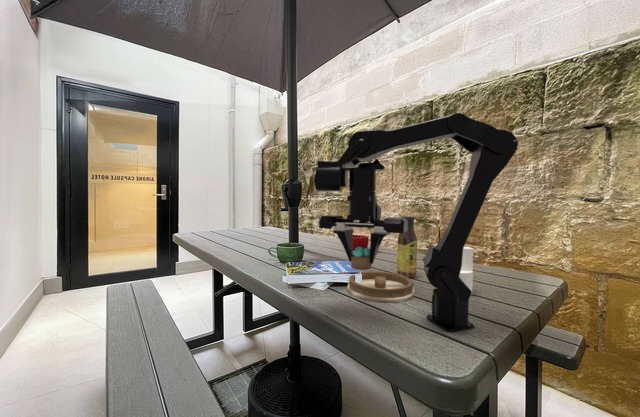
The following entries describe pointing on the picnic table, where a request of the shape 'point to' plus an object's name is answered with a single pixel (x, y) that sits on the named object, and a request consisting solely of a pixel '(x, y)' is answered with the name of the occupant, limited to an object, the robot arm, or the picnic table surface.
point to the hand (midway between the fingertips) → (361, 262)
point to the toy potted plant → (361, 259)
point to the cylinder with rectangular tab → (467, 267)
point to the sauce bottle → (407, 250)
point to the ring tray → (388, 286)
